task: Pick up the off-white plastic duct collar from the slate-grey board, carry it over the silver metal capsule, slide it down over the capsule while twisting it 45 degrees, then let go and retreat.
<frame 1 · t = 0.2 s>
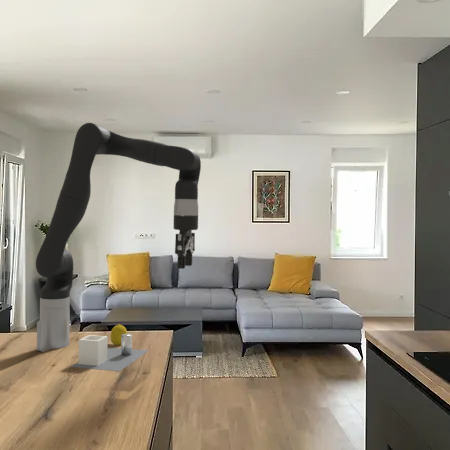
hand: (184, 267, 154), 29 cm above the worktop, fingers open, 8 cm apart
silver metal capsule: (126, 359, 154), resting on duct base
lemon: (118, 348, 167), on the worktop
duct base: (111, 363, 150), on the worktop
duct collar: (93, 361, 146), point 1 cm above the worktop, touching duct base
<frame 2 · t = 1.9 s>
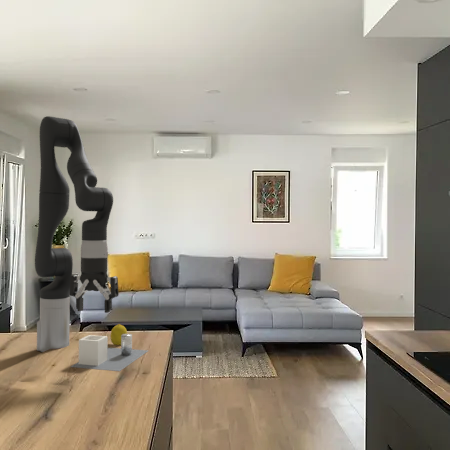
hand: (93, 311, 145), 16 cm above the worktop, fingers open, 8 cm apart
nothing on the worktop moved.
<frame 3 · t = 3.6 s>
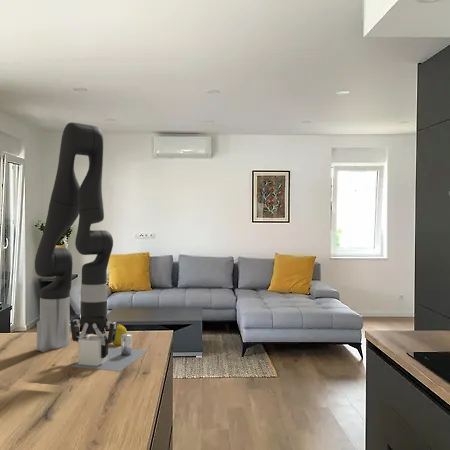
hand: (93, 356, 146), 3 cm above the worktop, fingers closed on duct collar, 6 cm apart
duct collar: (93, 361, 146), point 2 cm above the worktop, touching duct base, gripper
everything else where it was.
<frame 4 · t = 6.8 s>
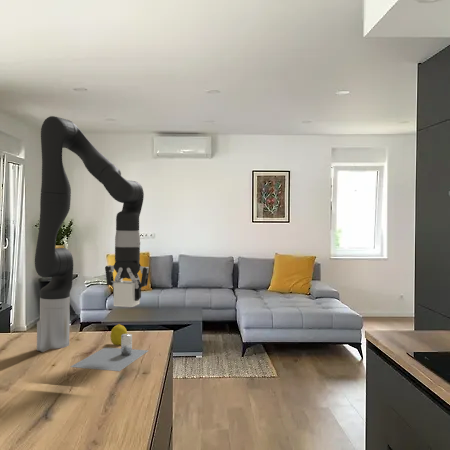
hand: (127, 299, 154), 18 cm above the worktop, fingers closed on duct collar, 6 cm apart
duct collar: (126, 305, 154), point 17 cm above the worktop, touching gripper
everything else where it was.
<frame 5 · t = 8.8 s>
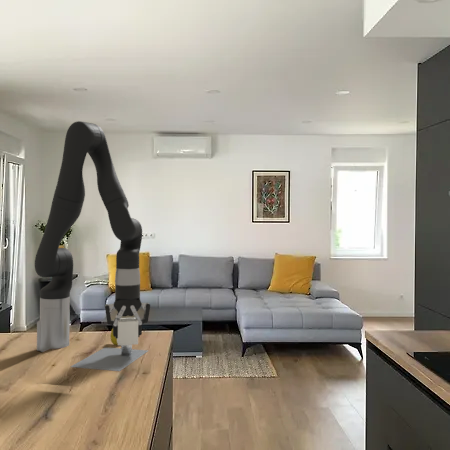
hand: (127, 337, 154), 7 cm above the worktop, fingers closed on duct collar, 6 cm apart
duct collar: (127, 342, 154), point 5 cm above the worktop, touching gripper
everything else where it was.
when the fingers open (5 cm above the worktop, at t = 10.2 s): duct collar drops 1 cm, resting on duct base.
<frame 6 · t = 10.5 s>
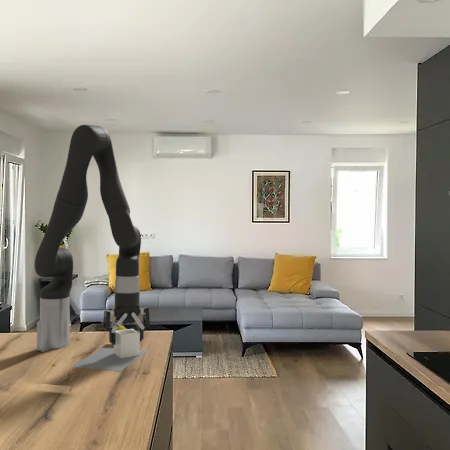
hand: (126, 342, 154), 5 cm above the worktop, fingers open, 8 cm apart
duct collar: (126, 354, 154), point 1 cm above the worktop, touching duct base
everything else where it was.
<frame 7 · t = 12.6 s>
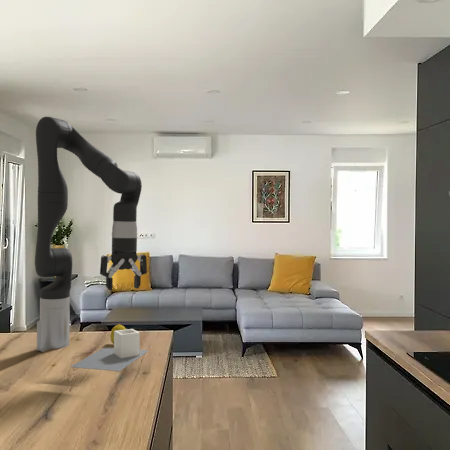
hand: (123, 289, 153), 22 cm above the worktop, fingers open, 8 cm apart
nothing on the worktop moved.
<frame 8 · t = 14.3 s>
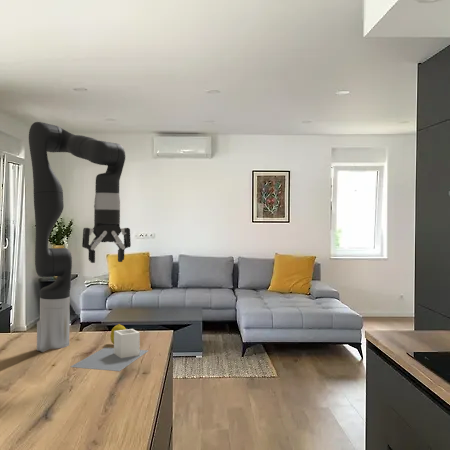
hand: (106, 262, 151), 30 cm above the worktop, fingers open, 8 cm apart
nothing on the worktop moved.
at the end: duct collar 0.0 cm off-centre on the silver metal capsule, point 1.5 cm above the silver metal capsule's base; duct collar tilted 0°; the gripper is holding nothing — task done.
